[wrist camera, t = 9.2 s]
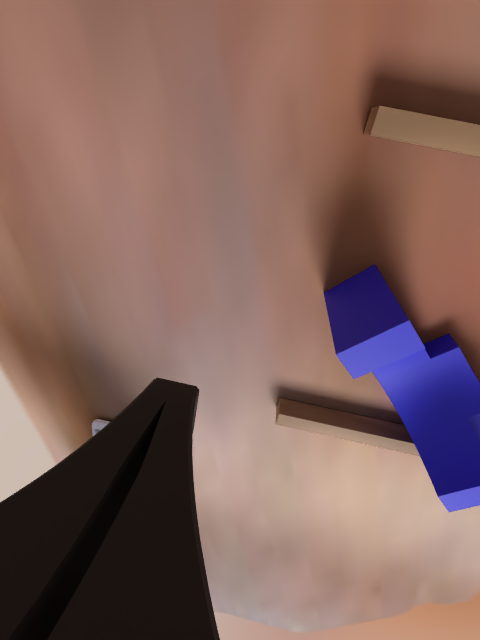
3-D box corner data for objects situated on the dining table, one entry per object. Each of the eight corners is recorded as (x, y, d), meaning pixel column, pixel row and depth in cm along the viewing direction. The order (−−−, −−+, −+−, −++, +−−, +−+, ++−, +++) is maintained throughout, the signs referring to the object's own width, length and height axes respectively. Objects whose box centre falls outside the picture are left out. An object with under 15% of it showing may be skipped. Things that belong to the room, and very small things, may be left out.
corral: (504, 458, 23) (517, 478, 22) (276, 408, 23) (275, 424, 22) (758, 182, 14) (806, 188, 12) (371, 107, 14) (379, 105, 13)
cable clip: (484, 400, 21) (547, 489, 16) (413, 424, 23) (449, 512, 18) (402, 247, 17) (451, 300, 12) (323, 291, 19) (336, 354, 14)
